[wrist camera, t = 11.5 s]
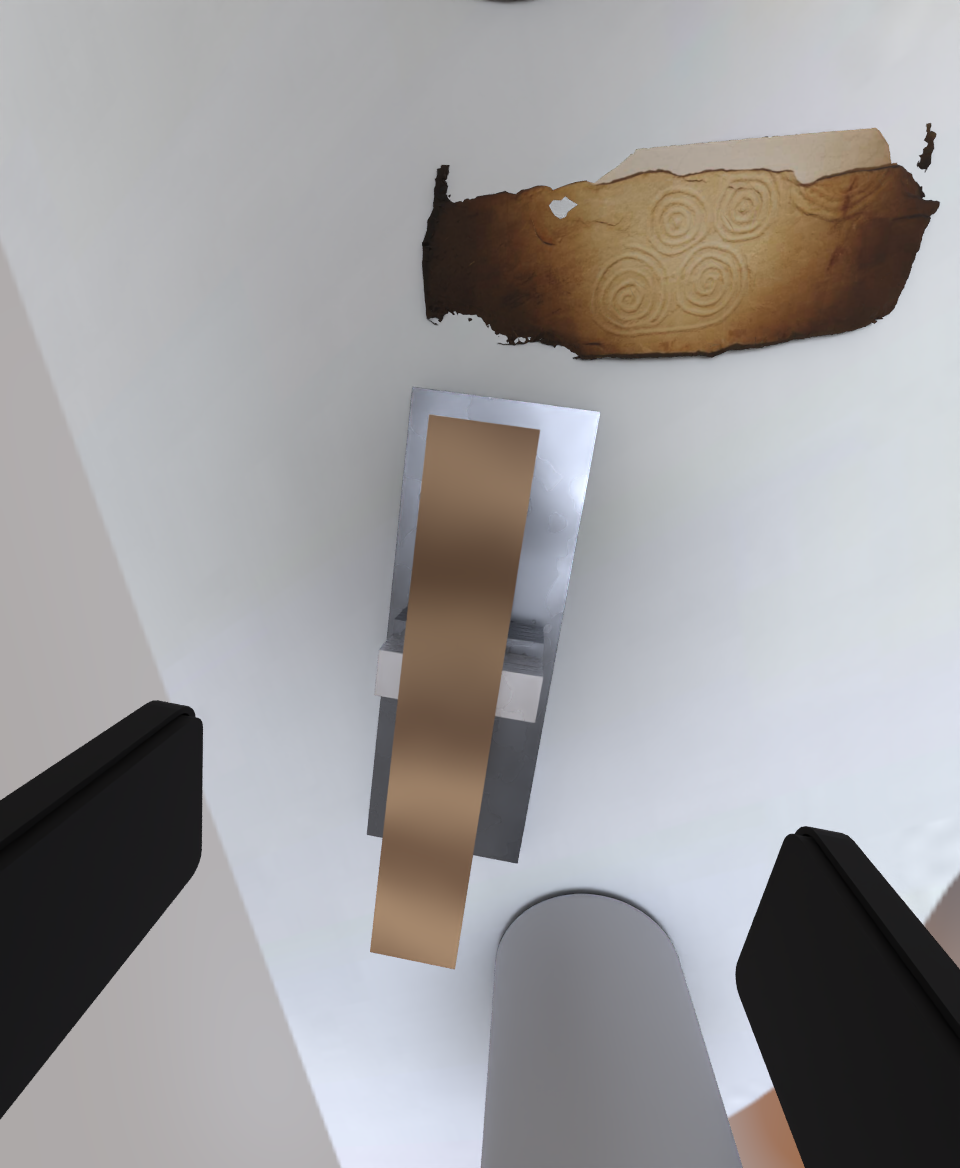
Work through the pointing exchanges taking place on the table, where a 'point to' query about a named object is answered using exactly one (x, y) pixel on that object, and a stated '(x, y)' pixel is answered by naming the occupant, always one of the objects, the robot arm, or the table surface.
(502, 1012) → the cylinder vase
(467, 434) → the walnut bar
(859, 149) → the parchment
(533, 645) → the stand
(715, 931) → the table surface
